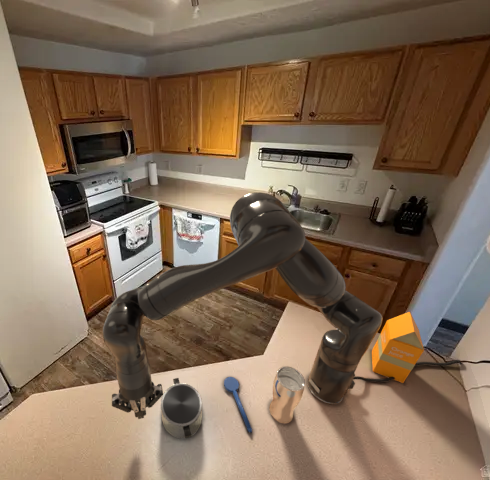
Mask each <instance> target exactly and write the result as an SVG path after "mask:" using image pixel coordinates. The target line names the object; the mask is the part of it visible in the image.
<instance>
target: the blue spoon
mask: <svg viewBox="0 0 490 480" xmlns="http://www.w3.org/2000/svg"><path fill="white" fill-rule="evenodd" d="M223 387H224V389H225V390H226V391H227V392H228V393H231V394H232V395H233V397H234V400H235V403H236V406H237V407H238V410H239V413H240V415H241V417H242V419H243V423H244V425H245V427H246V430H247V432H248V433H252V432H253V427H252V426H251V423H250V420H249V418H248V416H247V413H246V410H245V408H244V406H243V404H242V401H241V399H240V397H239V394H238V390H239V387H240V382H239V381H238V379H236V378H235V377H234V376H228V377H226V378H225V379H224V380H223Z"/></svg>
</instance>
